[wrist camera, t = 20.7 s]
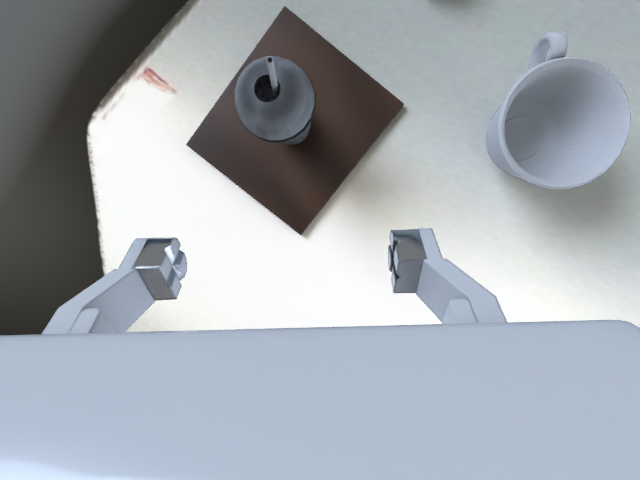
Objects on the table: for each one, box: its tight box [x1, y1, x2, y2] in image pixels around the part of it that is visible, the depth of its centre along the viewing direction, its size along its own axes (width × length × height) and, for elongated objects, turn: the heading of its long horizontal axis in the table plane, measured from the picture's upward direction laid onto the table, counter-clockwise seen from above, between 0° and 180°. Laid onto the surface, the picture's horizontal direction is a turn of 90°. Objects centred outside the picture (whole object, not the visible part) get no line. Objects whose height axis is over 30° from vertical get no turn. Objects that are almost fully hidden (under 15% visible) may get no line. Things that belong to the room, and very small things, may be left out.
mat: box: [186, 6, 404, 235], centre depth 44 cm, size 20×18×1 cm
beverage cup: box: [235, 56, 316, 144], centre depth 34 cm, size 7×7×20 cm
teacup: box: [486, 31, 631, 189], centre depth 39 cm, size 12×15×10 cm
